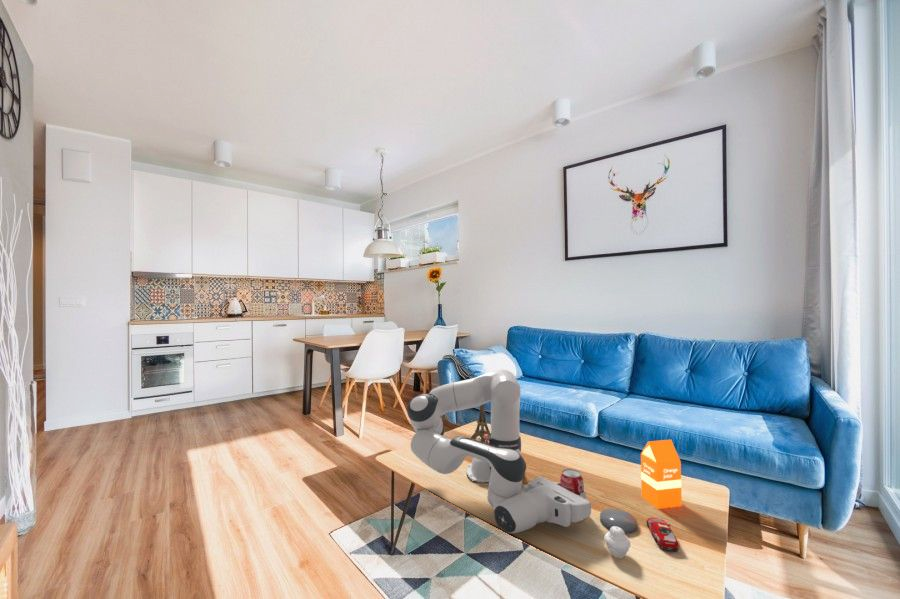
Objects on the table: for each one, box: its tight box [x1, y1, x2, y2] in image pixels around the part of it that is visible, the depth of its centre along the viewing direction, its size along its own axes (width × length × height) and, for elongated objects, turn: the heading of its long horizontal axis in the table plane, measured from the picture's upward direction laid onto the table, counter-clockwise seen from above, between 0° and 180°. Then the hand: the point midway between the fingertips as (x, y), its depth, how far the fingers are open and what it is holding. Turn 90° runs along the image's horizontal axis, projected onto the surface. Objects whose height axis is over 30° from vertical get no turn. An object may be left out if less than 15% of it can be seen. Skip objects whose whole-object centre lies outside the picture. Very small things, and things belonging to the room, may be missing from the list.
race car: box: [646, 516, 680, 552], centre depth 103 cm, size 13×5×4 cm, turn 166°
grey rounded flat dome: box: [599, 508, 638, 535], centre depth 110 cm, size 10×10×2 cm
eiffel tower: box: [470, 404, 491, 443], centre depth 176 cm, size 11×11×25 cm
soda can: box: [559, 468, 585, 495], centre depth 117 cm, size 7×7×12 cm
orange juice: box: [640, 439, 683, 510], centre depth 122 cm, size 8×9×20 cm
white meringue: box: [604, 526, 631, 558], centre depth 97 cm, size 6×6×7 cm
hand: (575, 489), depth 117 cm, fingers open, 6 cm apart
